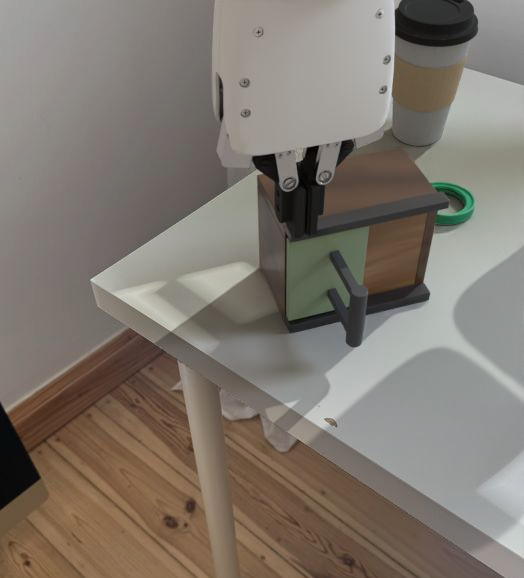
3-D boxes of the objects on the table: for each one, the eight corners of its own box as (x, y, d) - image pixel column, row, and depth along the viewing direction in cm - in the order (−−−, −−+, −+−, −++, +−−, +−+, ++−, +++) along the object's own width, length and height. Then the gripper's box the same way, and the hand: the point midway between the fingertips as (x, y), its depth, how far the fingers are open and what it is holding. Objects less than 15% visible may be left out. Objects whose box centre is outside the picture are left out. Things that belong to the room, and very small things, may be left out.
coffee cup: (464, 121, 90) (491, -4, 78) (443, 162, 84) (469, 34, 73) (391, 105, 92) (406, -18, 81) (366, 144, 87) (379, 18, 75)
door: (387, 352, 63) (400, 274, 57) (311, 371, 62) (315, 294, 55) (357, 299, 68) (366, 220, 61) (286, 316, 67) (286, 237, 60)
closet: (429, 300, 69) (450, 200, 61) (289, 333, 67) (290, 235, 58) (388, 238, 75) (403, 140, 67) (259, 267, 73) (256, 168, 64)
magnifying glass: (470, 192, 80) (474, 179, 79) (476, 227, 76) (479, 214, 75) (332, 186, 82) (333, 173, 80) (330, 220, 78) (331, 207, 76)
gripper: (412, -103, 41) (376, 175, 54) (148, -72, 38) (180, 213, 52) (477, -55, 36) (420, 237, 50) (180, -15, 33) (206, 282, 47)
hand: (298, 224), depth 50 cm, fingers closed
